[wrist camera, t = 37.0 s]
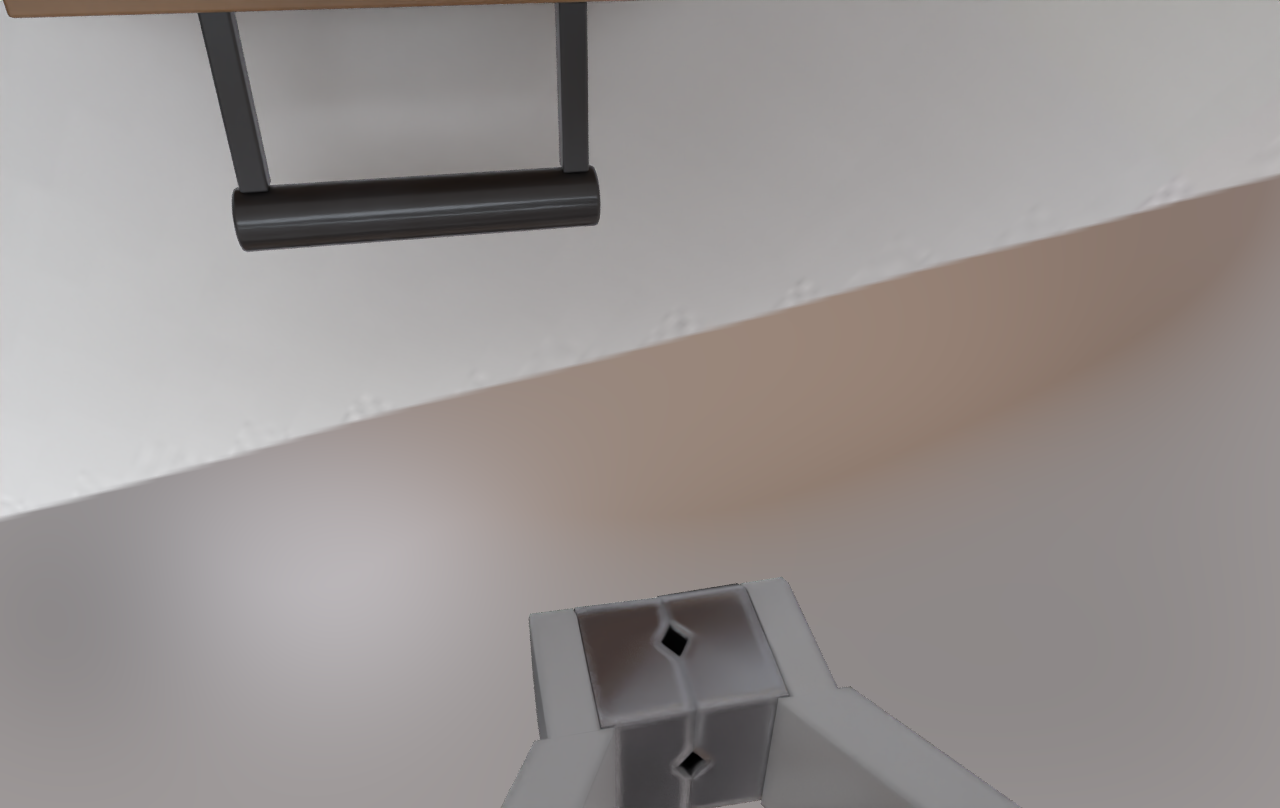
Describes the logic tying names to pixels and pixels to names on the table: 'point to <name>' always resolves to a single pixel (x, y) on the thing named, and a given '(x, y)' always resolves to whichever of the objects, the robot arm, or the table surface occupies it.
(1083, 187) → the table surface
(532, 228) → the drawer
